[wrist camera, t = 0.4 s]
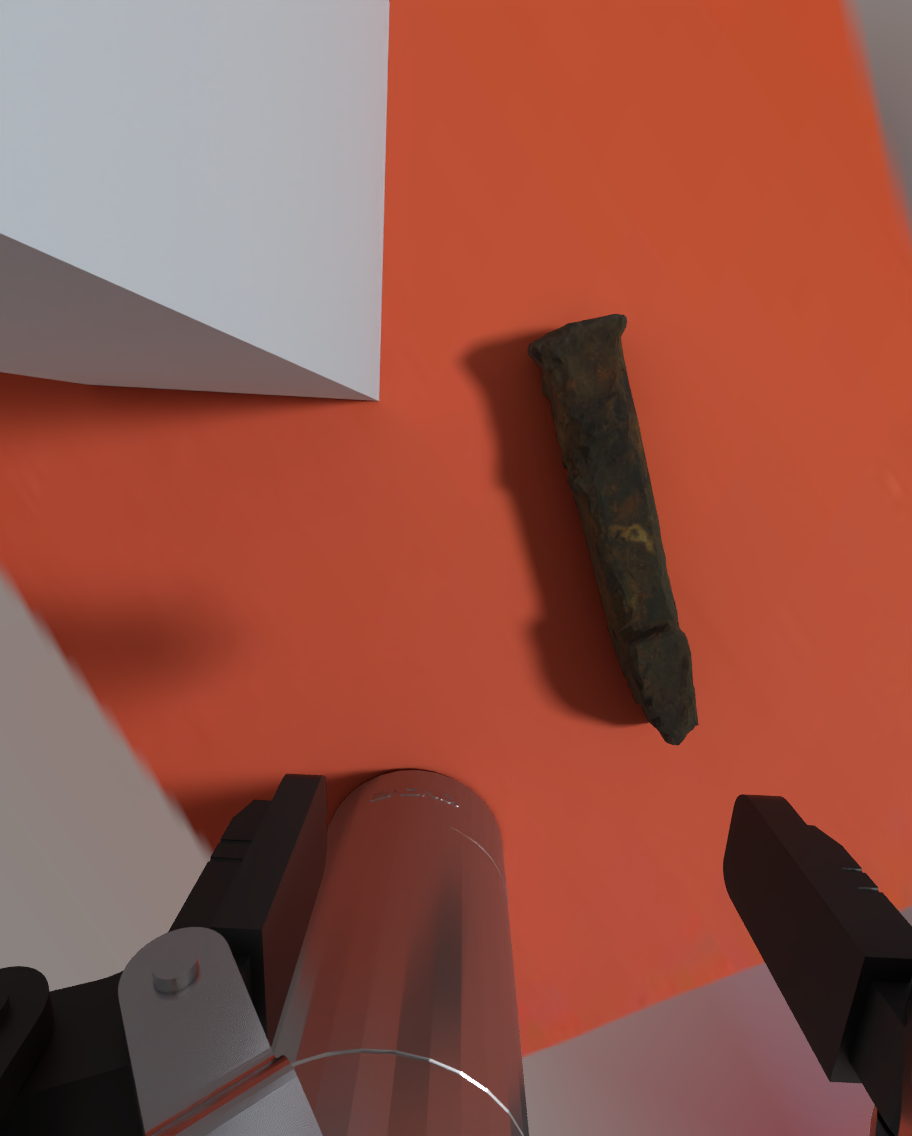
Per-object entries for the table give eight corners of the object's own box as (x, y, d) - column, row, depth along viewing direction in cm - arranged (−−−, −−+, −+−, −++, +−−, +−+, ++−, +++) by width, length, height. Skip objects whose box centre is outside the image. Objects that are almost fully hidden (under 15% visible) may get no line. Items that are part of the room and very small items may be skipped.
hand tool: (520, 344, 26) (531, 325, 22) (610, 321, 26) (640, 297, 21) (599, 729, 30) (622, 781, 26) (678, 713, 30) (716, 763, 25)
